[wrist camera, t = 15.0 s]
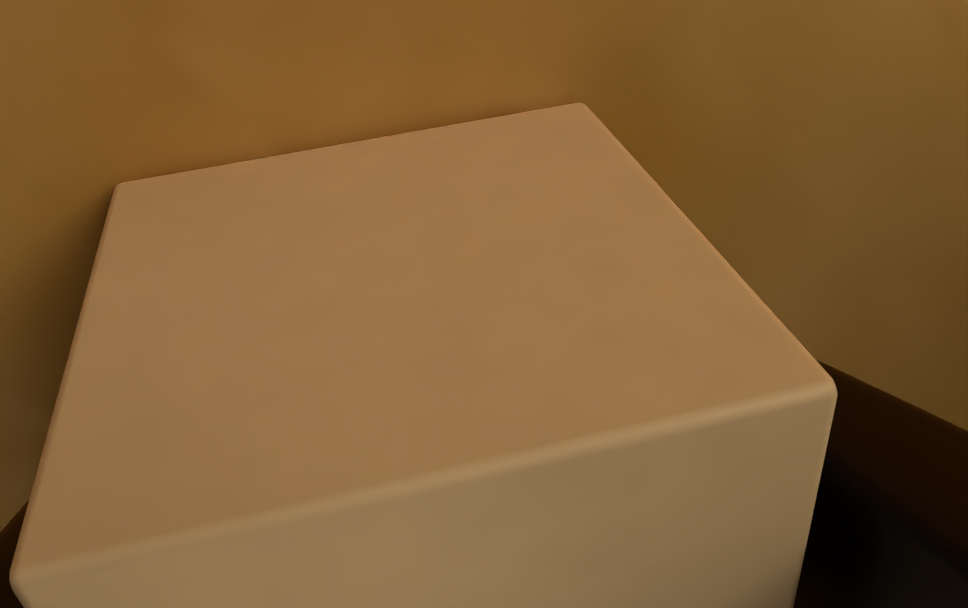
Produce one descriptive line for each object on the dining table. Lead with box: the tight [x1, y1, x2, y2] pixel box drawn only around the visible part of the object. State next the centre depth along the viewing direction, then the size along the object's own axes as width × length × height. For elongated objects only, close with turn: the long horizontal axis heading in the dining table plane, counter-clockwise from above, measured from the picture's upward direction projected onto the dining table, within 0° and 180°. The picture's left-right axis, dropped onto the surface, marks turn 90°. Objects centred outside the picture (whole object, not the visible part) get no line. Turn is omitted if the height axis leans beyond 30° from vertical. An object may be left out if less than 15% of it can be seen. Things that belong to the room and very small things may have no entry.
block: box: [9, 103, 838, 608], centre depth 8 cm, size 4×4×4 cm
